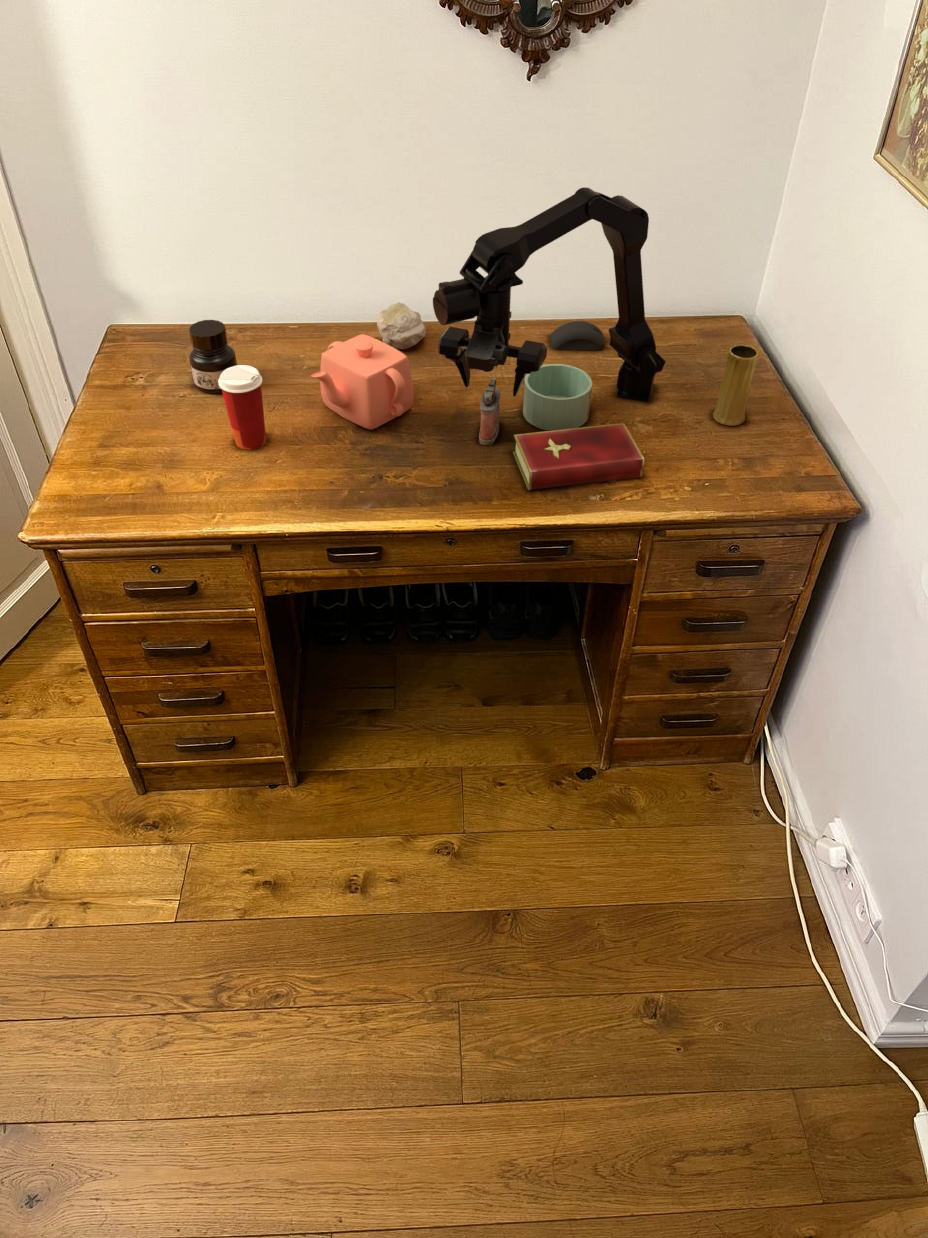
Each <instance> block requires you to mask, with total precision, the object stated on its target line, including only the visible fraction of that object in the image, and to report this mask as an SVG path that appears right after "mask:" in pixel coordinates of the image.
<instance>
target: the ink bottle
mask: <svg viewBox="0 0 928 1238" xmlns="http://www.w3.org/2000/svg"><path fill="white" fill-rule="evenodd" d="M188 331H189V336H190V342H191V346H192V348H193V349H191V351H190V353H189V364H190V369H191V374H192V380H193V383H194V386H195V388H197V389H198V390H199V391H201V392H204V393H207V394H208V393H209V394H221V393H222V394H223V392H222V389H221V388H220V386H219V382H218V380H219V378H220V375H221V374H222V372H223V371H224V370H226V369H227V368H230V367H233V366H237V365H238V362H237V356H236V355H237V354H236V350H234V348H233V347H232V346H231V345H230V344H228V341H229V340H228V337H227V329H226V325H225V324H224V322H222V321H219V320H215V319H203V320H199V321H196V322H194V323H192V325H191V326H190V327H189V330H188Z"/></svg>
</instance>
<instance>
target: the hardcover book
mask: <svg viewBox="0 0 928 1238" xmlns="http://www.w3.org/2000/svg"><path fill="white" fill-rule="evenodd" d="M513 438H514V441H515V450H513V451H512V454H513V456H514V459H515V462H516V464H517V466H518V468H519V471H520V473H521V476H522V479H523V481H524V483H525V486H526V488H527V490H528V491H532V490H533V491H534V490H540V489H550V488H558V487H566V486H575V485H584V484H591V483H602V482H609V481H619V480H627V479H634V478H636V479H637V478H642V477H643V474H644V470H645V463H646V460H645V457H644V455H643V453H642V452H641V450H640V448H639V447H638V445H637V443H636V441H635V439H634V438H633V436H632V434H631V432H630V431H629V429H628V427H627V425H626V424H625V422H621V423H620V422H619V423H611V424H610V423H609V424H601V425H594V426H593V425H591V426H582V427H578V428H572V429H563V430H554V431H548V430H544V431H536V432H527V433H526V432H525V433H518V434H513Z"/></svg>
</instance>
